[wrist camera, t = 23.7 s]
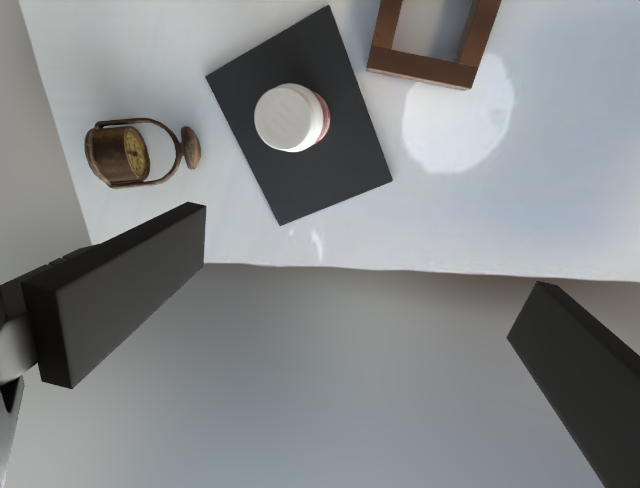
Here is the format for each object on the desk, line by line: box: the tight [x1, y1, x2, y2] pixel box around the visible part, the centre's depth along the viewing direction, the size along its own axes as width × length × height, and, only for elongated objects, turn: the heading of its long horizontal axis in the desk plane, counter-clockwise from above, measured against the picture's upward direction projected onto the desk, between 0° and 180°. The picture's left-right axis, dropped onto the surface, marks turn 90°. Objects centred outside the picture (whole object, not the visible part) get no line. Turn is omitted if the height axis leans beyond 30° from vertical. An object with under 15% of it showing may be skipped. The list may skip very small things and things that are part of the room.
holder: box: [366, 0, 502, 91], centre depth 31 cm, size 11×11×2 cm
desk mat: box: [205, 5, 393, 226], centre depth 38 cm, size 20×16×1 cm
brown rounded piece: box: [85, 118, 201, 189], centre depth 38 cm, size 7×13×10 cm
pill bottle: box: [254, 83, 330, 152], centre depth 32 cm, size 6×6×11 cm
